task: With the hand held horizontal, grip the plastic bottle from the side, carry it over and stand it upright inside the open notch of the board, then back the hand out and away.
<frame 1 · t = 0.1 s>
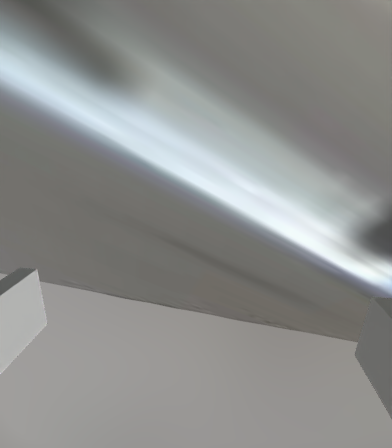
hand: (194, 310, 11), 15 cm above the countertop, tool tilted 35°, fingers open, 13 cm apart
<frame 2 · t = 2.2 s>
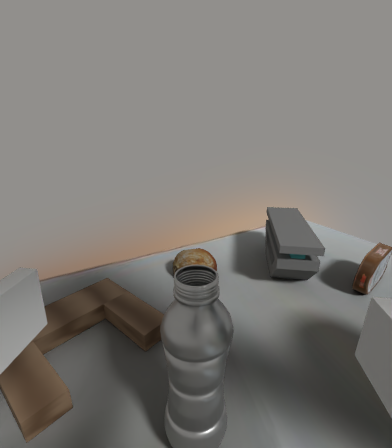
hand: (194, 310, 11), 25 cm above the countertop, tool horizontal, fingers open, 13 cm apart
tin: (369, 285, 56), on the countertop
bread roll: (195, 274, 60), on the countertop
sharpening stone: (284, 266, 64), on the countertop
notched board: (80, 342, 41), on the countertop
plastic bottle: (195, 434, 29), on the countertop
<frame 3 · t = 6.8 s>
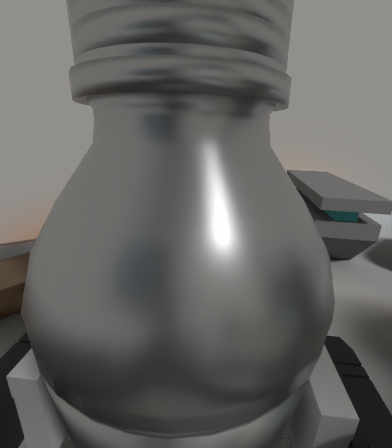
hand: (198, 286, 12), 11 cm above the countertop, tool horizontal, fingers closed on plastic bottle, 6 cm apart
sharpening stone: (313, 243, 46), on the countertop
when the fingers open (12 cm above the countertop, at t = 11.3 s): plastic bottle drops 1 cm, on the countertop.
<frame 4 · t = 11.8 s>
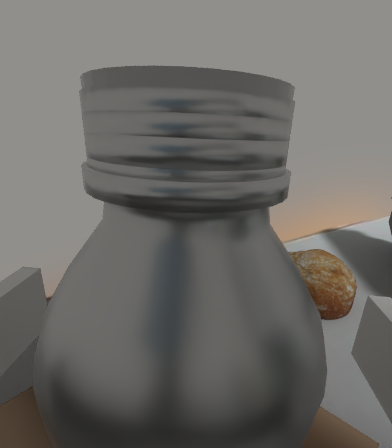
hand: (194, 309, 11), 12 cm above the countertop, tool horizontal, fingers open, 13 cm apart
bread roll: (309, 295, 34), on the countertop
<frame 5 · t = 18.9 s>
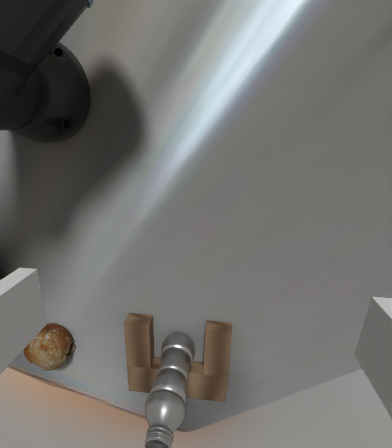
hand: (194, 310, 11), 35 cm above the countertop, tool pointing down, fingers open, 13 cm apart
bread roll: (54, 339, 59), on the countertop
notched board: (179, 352, 56), on the countertop
plastic bottle: (180, 339, 55), on the countertop
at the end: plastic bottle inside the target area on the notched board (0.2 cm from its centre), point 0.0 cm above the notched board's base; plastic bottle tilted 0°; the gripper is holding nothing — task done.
